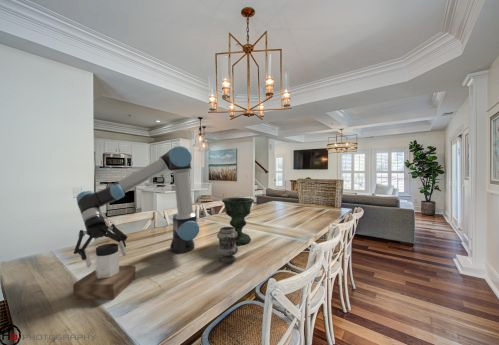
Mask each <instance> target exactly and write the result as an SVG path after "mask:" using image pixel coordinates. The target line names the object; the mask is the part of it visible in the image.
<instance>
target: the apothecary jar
mask: <svg viewBox="0 0 499 345" xmlns="http://www.w3.org/2000/svg"><path fill="white" fill-rule="evenodd" d="M237 236H238V233H237V232H236V231H235V228H234V227H232V226H231V225H230V226H229V225H228V226H223V227H220V228H219V231H218V232H217V234H216V238H218V247H217V249H216V252H217V254H218V255H220V257H218V260H219V262H220V263H223V264H230V263H234V262H235V261H237V257H236V256H235V255H236V254H237V253H238V251H239V247H238V245H236V238H237Z"/></svg>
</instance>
